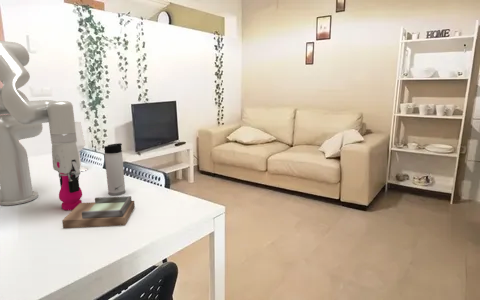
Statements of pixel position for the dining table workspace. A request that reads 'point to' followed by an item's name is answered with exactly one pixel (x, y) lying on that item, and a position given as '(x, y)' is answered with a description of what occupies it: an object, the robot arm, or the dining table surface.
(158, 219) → the dining table surface
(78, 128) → the champagne flute
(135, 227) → the dining table surface
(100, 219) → the dock
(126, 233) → the dining table surface
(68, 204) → the pepper mill
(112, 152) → the travel mug
